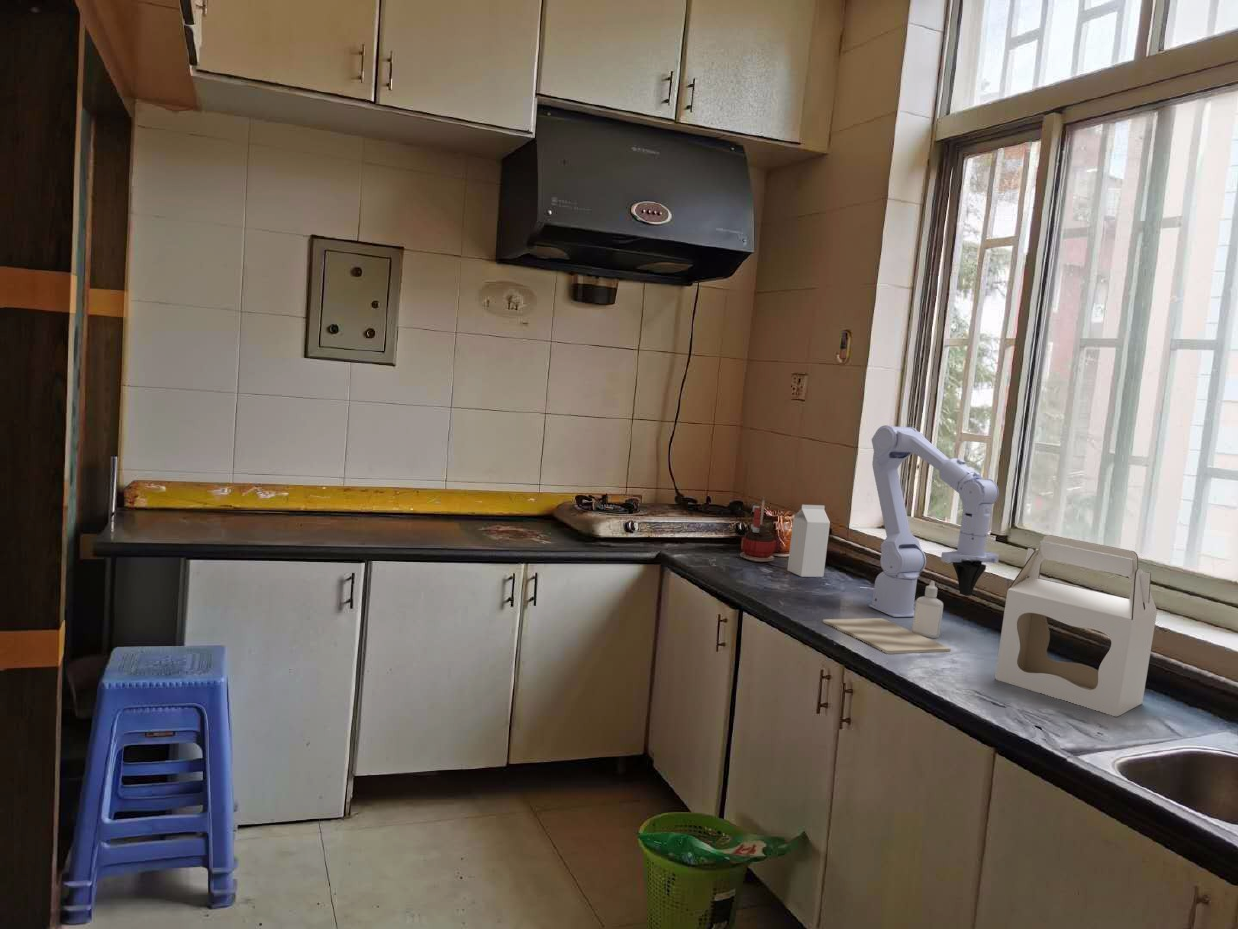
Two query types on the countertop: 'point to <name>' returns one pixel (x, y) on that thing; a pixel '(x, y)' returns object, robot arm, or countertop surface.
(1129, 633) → the gable box
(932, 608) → the eye dropper bottle
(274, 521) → the countertop surface
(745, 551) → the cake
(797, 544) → the milk carton
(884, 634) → the birch board
